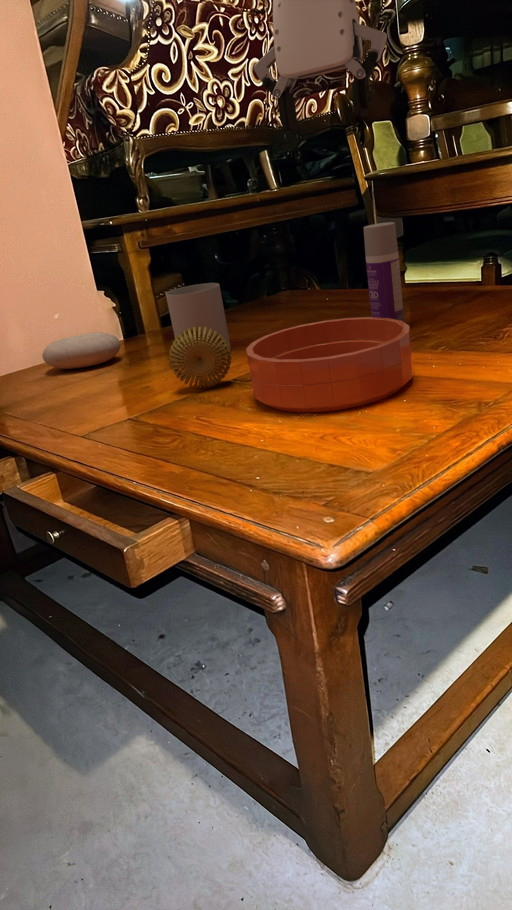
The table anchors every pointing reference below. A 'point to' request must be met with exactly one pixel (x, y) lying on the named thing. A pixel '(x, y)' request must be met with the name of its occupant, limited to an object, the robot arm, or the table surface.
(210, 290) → the cup
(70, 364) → the decorative stone
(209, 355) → the sculpture
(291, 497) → the table surface
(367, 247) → the container
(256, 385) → the bowl
